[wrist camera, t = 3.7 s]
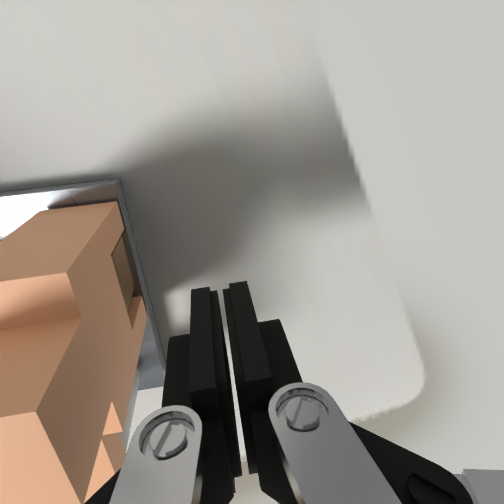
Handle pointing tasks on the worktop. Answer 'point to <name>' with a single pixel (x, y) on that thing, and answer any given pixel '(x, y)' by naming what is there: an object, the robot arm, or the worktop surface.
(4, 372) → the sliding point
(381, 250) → the worktop surface
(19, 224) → the flange plate
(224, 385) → the robot arm
